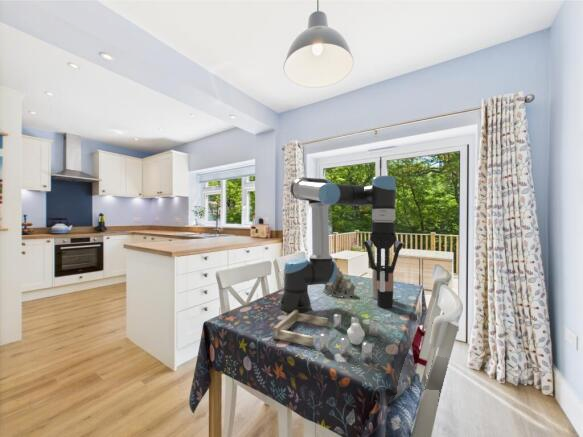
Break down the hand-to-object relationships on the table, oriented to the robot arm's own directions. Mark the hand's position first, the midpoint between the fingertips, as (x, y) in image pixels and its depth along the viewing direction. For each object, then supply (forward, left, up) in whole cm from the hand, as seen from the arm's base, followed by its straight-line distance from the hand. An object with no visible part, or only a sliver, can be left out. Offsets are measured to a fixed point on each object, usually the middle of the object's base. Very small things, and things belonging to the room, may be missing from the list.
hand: (382, 290), depth 87 cm
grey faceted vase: (-9, 0, -20) cm, 22 cm away
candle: (-3, +59, -20) cm, 63 cm away
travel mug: (-2, +45, -20) cm, 49 cm away
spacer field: (-11, 0, -20) cm, 22 cm away
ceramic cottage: (-28, +55, -20) cm, 65 cm away
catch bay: (-29, 0, -20) cm, 35 cm away
